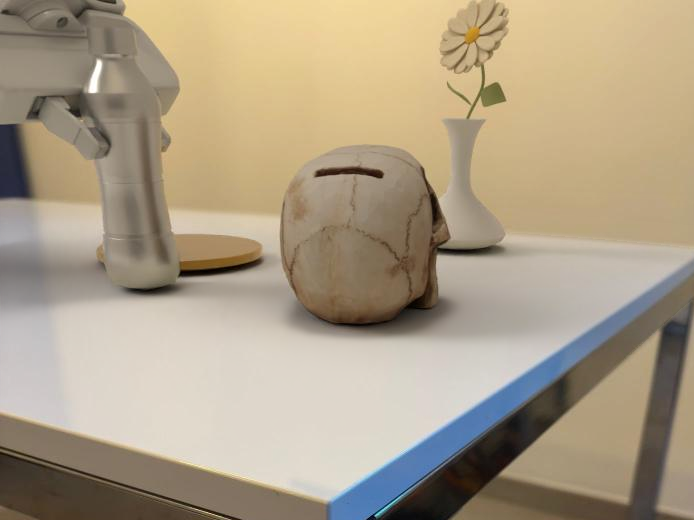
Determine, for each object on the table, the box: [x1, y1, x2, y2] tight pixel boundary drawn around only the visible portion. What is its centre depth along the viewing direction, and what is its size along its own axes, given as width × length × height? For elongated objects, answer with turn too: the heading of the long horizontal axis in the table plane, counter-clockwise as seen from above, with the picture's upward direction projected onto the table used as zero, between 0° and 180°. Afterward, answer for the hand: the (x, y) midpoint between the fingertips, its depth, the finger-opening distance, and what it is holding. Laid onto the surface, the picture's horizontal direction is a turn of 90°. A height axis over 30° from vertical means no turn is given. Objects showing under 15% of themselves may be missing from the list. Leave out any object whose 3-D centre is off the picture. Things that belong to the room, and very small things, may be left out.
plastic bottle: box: [78, 27, 181, 291], centre depth 66 cm, size 6×7×20 cm
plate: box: [95, 233, 264, 273], centre depth 82 cm, size 17×17×2 cm
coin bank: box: [279, 143, 451, 325], centre depth 63 cm, size 16×17×13 cm
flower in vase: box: [438, 0, 510, 250], centre depth 87 cm, size 13×11×25 cm
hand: (132, 150), depth 65 cm, fingers closed on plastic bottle, 6 cm apart
